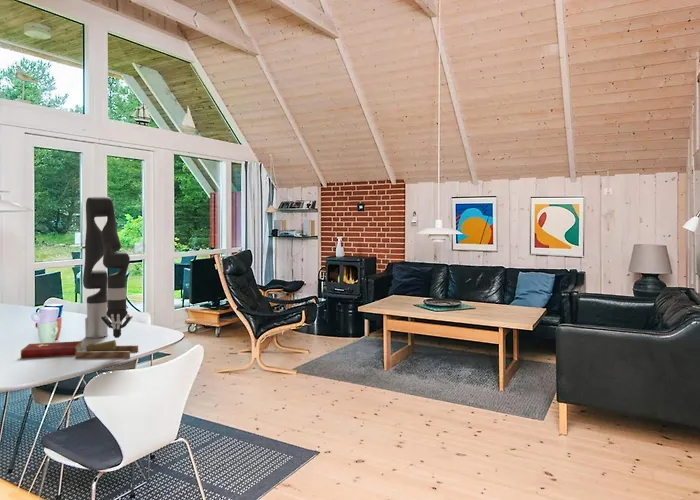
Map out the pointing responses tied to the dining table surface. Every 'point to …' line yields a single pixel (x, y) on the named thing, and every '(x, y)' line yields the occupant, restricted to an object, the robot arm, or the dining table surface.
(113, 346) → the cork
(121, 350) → the brown flat piece
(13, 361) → the dining table surface
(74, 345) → the hardcover book
